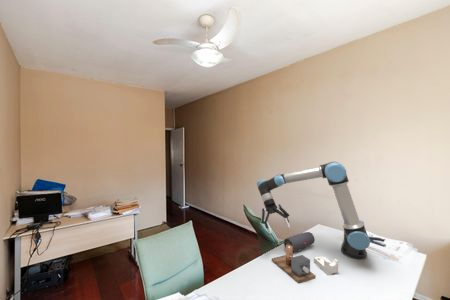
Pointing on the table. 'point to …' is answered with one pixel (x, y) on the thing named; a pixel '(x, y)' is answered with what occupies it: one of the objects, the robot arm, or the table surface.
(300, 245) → the bluetooth speaker
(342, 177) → the robot arm
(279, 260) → the walnut board
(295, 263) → the bearing block
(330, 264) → the bracket
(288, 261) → the shaft
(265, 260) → the table surface
